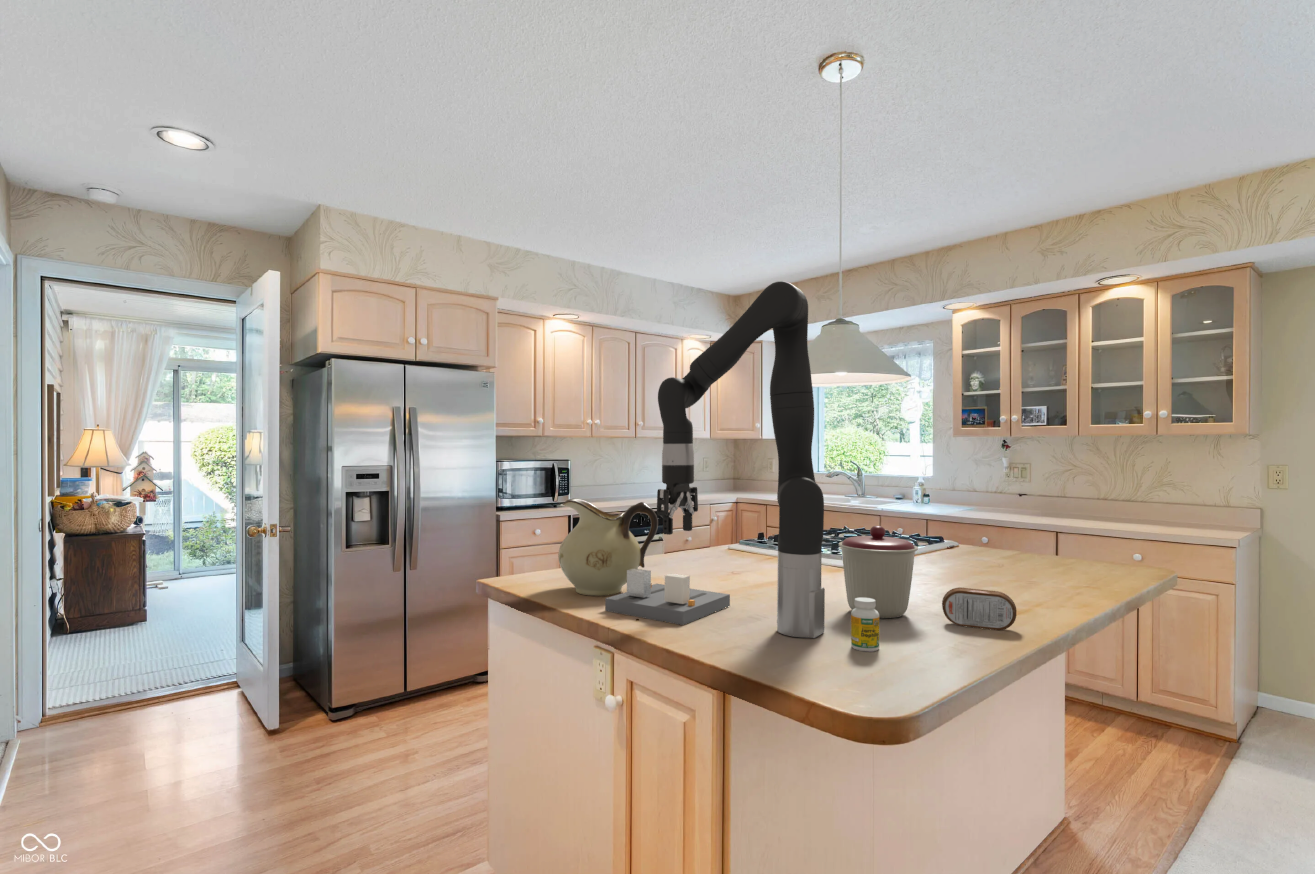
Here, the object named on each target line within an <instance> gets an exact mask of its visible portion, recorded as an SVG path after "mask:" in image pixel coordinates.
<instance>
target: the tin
mask: <svg viewBox="0 0 1315 874" xmlns="http://www.w3.org/2000/svg"><path fill="white" fill-rule="evenodd" d="M941 608H942V611H943V614H944V616H945V617H946V619H947V620H948V621H949V622H950V623H952V624H954V625H956V626H959V627H964V626H967V627H968V628H973V627H974V628H973V629H975V628H976V629H981V628H983V629H984V630H990V629H991V630H992V631H1003V630H1007V629H1008V628H1010V627H1011V626H1013V624H1014V623H1015V621H1016V620H1017V619H1016V618H1017V606H1016V603H1015V602H1014V600H1013V599H1012V598H1011V597H1010V596H1009V595H1007V593H1004V592H1002V591H998V590H988V589H979V588H970V587H969V588H968V587H960V586H959V587H954V588H952V589H951V588H950V589H949V590H948V591H946V592H945V594H944V595H943V598H942V601H941ZM967 627H966V628H967ZM983 629H982V630H983Z"/></svg>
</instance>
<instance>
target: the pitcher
mask: <svg viewBox="0 0 1315 874" xmlns="http://www.w3.org/2000/svg"><path fill="white" fill-rule="evenodd" d="M562 506H563V507H567V508H570V509H573V510H574V511H576V512H577V514H578V516H579V520H578V523H577V524H576V525H575V526H574V528H573V529H572V530H571V531H570V532H569V533H568V534H567V535H566V536H565V537H564V539H563V540H562V542H561V544H560V546H559V549H558V563H559V567H560V568H561V571H562V574H563V575H564V576H565V577H566V578H567V580H568V581H569V582H570V583H571V584H572V585H573V586H574V587H575V592H576V593H577V594H580V595H584V596H590V597H603V596H607V597H608V596H611V595H612V596H614V595H618V594H620V593H621V592H622V588H623V587H624V586H625V585H627V570H630V569H634V568H635V569H639V567H641V569H643V568H645V555H646V552H647V550H648V548H649V546H650V545H651V542H652V541H653V540H654V538H655V536H656V534H657V531H658V527H659V519H658V515H657V513H656V512H655V511H654V509H653V508H652V507H651V506H649V505H648V504H647V503H645V502H644V501H641V502H638V503H636V504H633V505H631V506H630V507H628V508H627V509H626V510H625V512H623V511H622V512H620V513H619V514H611V513H609V512H606V511H603V510H602V509H600V508H598V507H597V506H595V505H594V504H592V503H591V502H589V501H587V500H583V499H581V498H576V497H575V498H570V499H567V500H566V501H564V502H563V503H562ZM636 514H645V515H647V516H648V518H649V520H650V529H649V532H648V534H647V536H646V538H645V540H644V541H643V543H642V545H641V546H640V544H639V541H638V540H637V538H636V537H635V535H634V534H633V533H632V532H631V530H630V524H631V521H632V518H633V516H635V515H636Z"/></svg>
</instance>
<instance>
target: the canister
mask: <svg viewBox="0 0 1315 874" xmlns="http://www.w3.org/2000/svg"><path fill="white" fill-rule="evenodd" d="M869 532H870V533H869V534H870V535H860V536H858V535H857V536H850V537H846V538H845V539H844V540H843V541H840V542H839V543H838V545H839V547H840V548H841V556H842V557H841V558H842V565H843V566H842V567H843V576H844V583H845V593H846V600H847V604H848V606H849V609H850V610H851V611H852V610H853V609H855V608H856V607H855V605H854V602H855V598H871V599H874V600H875V601H876V606H875V608H874V609H875V610H876V611H878V613H879V619H895V618H900V617H901V616H903V615H905V614H906V612H907V609H908V607H909V601H910V597H911V596H910V595H911V588H912V580H913V572H914V564H915V563H914V562H915V553H916V552H917V551H918V549H919V547H918V546H916V545H914V544H913V543H912V542H911V541H909V540H907V539H903V538H897V537H891V536H885V535H886V529H885V528H884V526H881V525H874V526H872V527H871V528H870V529H869Z"/></svg>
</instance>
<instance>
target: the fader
mask: <svg viewBox="0 0 1315 874" xmlns="http://www.w3.org/2000/svg"><path fill="white" fill-rule="evenodd" d="M690 581H691V580H690V575H686V574H677V573H668V574H665V575H664V585H665V600H664V601H667V602H673V603H679V604H684V603H687V602H688V600H689V594H690V589H691V587H690V584H691V583H690Z"/></svg>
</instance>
